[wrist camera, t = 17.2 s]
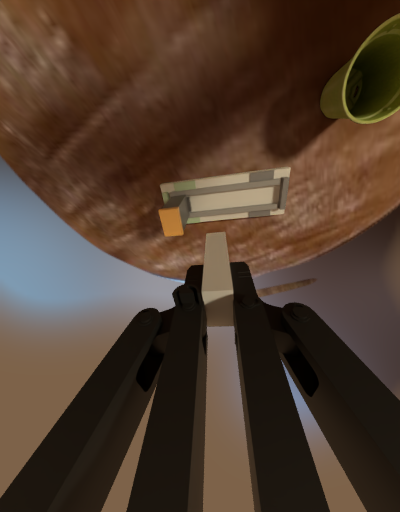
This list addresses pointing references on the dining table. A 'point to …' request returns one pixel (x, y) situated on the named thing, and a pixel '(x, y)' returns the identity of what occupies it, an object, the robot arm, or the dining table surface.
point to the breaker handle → (175, 215)
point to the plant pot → (367, 79)
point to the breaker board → (233, 194)
